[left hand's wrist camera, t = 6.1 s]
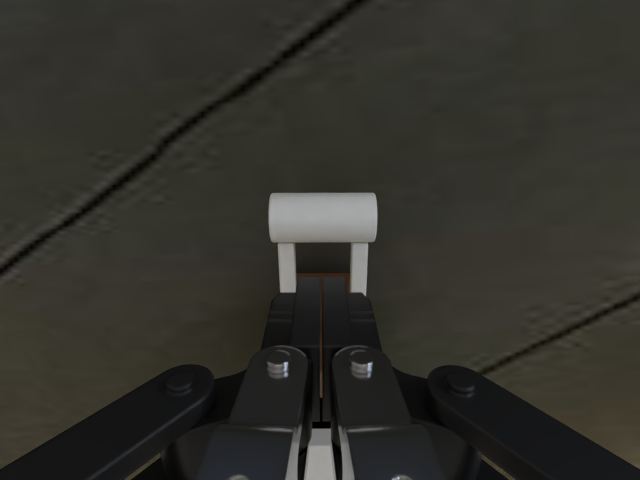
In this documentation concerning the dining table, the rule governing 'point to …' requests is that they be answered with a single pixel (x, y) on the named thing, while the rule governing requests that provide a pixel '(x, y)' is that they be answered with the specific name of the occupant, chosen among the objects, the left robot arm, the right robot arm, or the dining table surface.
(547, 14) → the dining table surface
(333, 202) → the drawer
